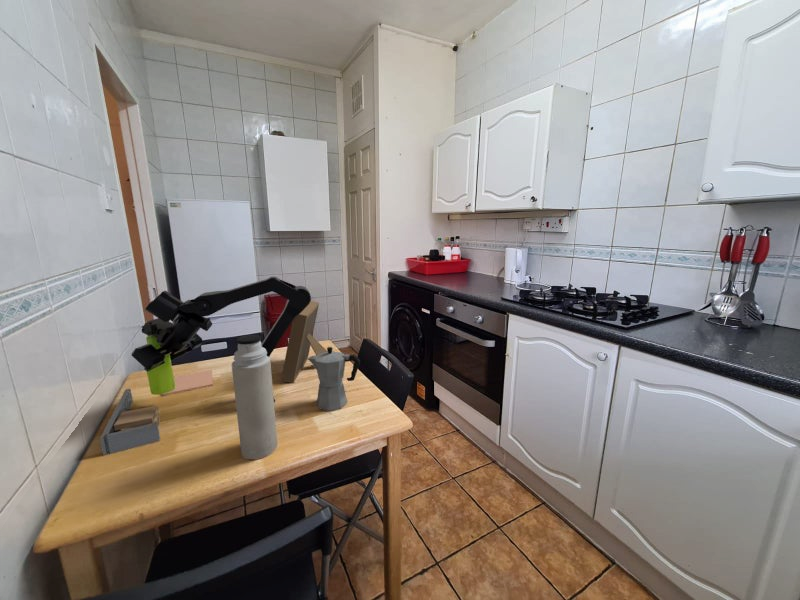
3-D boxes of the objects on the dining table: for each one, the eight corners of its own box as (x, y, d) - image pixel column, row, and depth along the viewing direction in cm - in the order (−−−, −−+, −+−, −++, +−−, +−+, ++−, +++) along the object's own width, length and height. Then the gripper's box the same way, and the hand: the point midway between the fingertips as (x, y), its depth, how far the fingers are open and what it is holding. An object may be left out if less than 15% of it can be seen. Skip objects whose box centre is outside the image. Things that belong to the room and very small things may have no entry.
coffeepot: (306, 411, 93) (302, 353, 90) (314, 395, 102) (311, 342, 99) (359, 411, 93) (357, 352, 90) (362, 395, 102) (361, 342, 99)
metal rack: (159, 440, 80) (157, 424, 79) (103, 455, 74) (99, 438, 74) (170, 394, 103) (168, 381, 102) (127, 402, 98) (125, 389, 97)
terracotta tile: (212, 385, 109) (212, 383, 109) (162, 395, 102) (162, 394, 102) (212, 371, 121) (211, 369, 121) (166, 379, 114) (166, 377, 114)
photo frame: (281, 383, 111) (276, 313, 106) (297, 359, 132) (294, 300, 128) (324, 382, 112) (321, 313, 107) (333, 359, 133) (331, 300, 128)
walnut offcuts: (158, 431, 84) (155, 417, 83) (116, 442, 79) (113, 426, 79) (161, 416, 91) (159, 402, 90) (123, 425, 86) (120, 411, 86)
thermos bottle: (250, 438, 81) (238, 332, 75) (281, 438, 81) (273, 331, 75) (235, 460, 73) (221, 343, 67) (270, 459, 73) (259, 342, 68)
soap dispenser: (155, 398, 90) (142, 330, 85) (148, 390, 94) (135, 325, 90) (179, 389, 94) (168, 325, 90) (171, 383, 98) (160, 320, 94)
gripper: (188, 303, 98) (161, 336, 102) (131, 318, 80) (101, 358, 83) (215, 328, 99) (188, 360, 102) (164, 349, 80) (133, 388, 84)
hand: (155, 365), depth 93 cm, fingers closed on soap dispenser, 6 cm apart
